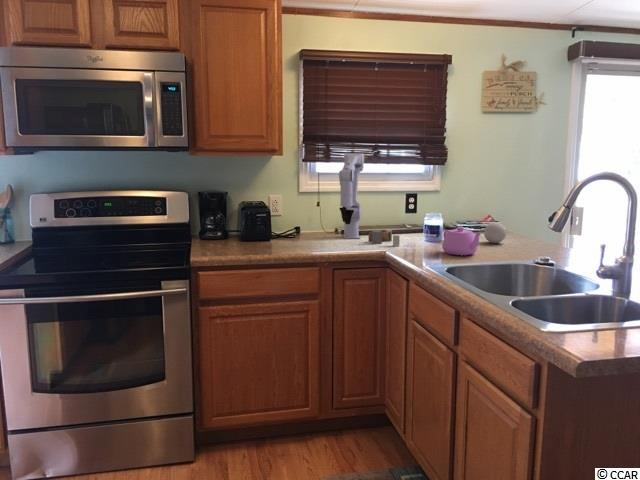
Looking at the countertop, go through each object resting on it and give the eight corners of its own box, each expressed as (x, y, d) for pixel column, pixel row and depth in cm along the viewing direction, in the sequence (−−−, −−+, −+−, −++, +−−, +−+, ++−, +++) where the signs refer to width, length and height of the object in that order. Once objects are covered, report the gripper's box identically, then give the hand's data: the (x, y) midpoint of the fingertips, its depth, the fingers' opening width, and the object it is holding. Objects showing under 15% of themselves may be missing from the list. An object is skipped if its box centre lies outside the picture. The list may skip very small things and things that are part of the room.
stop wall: (392, 245, 241) (393, 234, 240) (397, 245, 241) (398, 234, 240) (394, 246, 238) (394, 235, 237) (399, 246, 238) (399, 235, 237)
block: (371, 242, 248) (371, 230, 247) (379, 242, 249) (380, 230, 248) (373, 244, 244) (373, 231, 243) (381, 243, 245) (381, 231, 244)
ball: (503, 245, 237) (504, 224, 235) (481, 243, 242) (482, 223, 240) (507, 242, 246) (508, 221, 244) (485, 240, 250) (487, 220, 249)
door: (390, 240, 252) (390, 231, 251) (391, 241, 251) (391, 232, 250) (368, 241, 251) (368, 232, 250) (368, 241, 250) (369, 232, 249)
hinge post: (386, 240, 254) (386, 230, 253) (390, 239, 255) (390, 230, 254) (387, 240, 252) (387, 230, 251) (391, 240, 252) (391, 230, 252)
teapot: (433, 252, 223) (434, 226, 221) (451, 248, 231) (452, 223, 229) (472, 260, 208) (473, 231, 206) (490, 255, 216) (492, 228, 214)
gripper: (357, 196, 236) (357, 225, 239) (352, 193, 251) (352, 220, 253) (342, 196, 236) (342, 225, 238) (338, 193, 250) (338, 221, 252)
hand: (346, 223), depth 245 cm, fingers open, 7 cm apart
